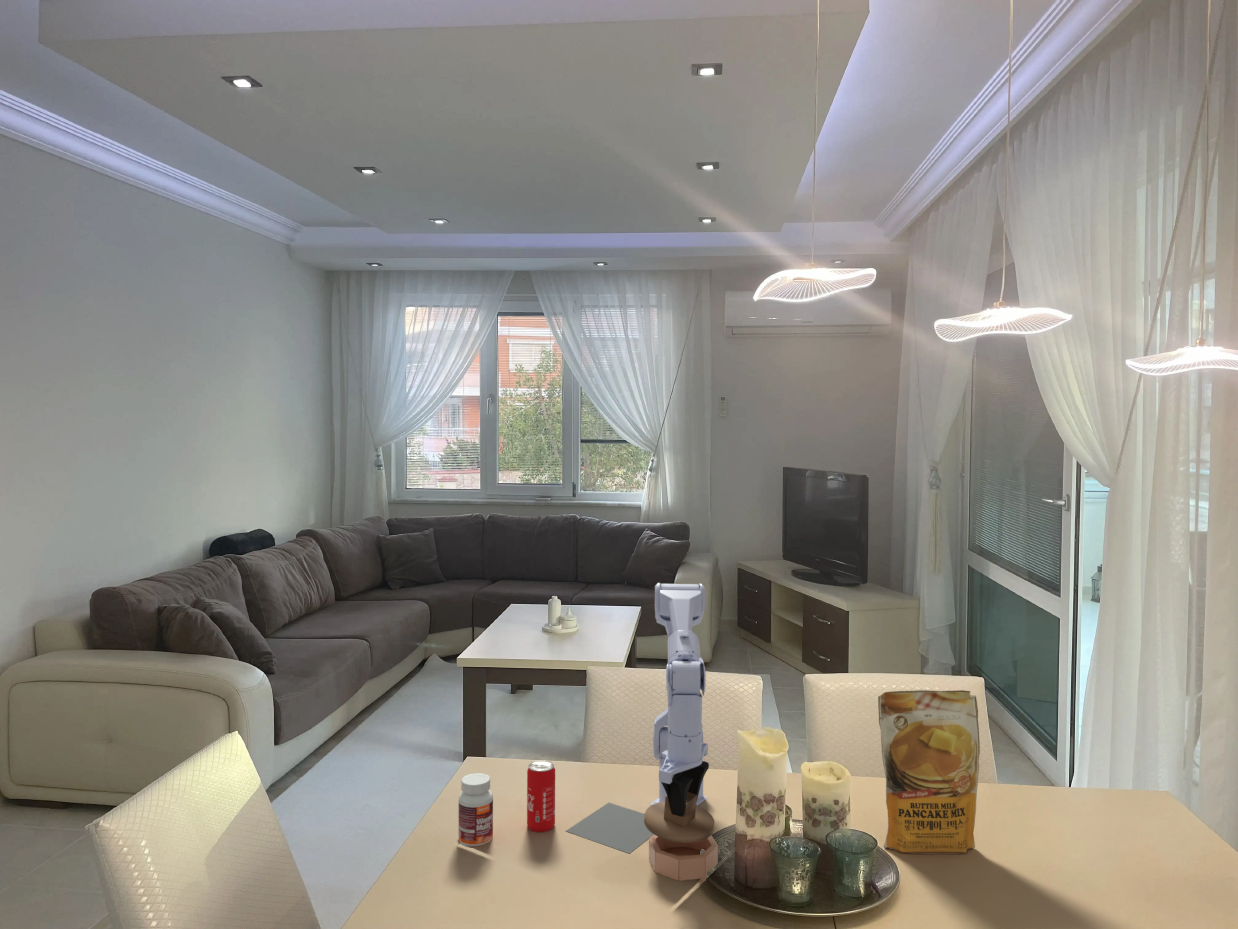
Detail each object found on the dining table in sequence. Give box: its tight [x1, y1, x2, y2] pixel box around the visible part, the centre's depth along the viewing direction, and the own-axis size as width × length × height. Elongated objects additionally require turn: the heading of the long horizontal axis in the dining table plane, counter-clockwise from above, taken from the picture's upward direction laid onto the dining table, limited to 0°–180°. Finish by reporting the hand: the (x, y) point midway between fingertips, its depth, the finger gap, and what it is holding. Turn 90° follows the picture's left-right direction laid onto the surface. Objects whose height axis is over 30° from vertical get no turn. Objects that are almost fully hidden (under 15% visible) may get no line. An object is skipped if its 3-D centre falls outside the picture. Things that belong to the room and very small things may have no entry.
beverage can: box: [526, 760, 556, 833], centre depth 153 cm, size 5×5×12 cm
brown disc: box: [644, 792, 715, 843], centre depth 141 cm, size 12×12×5 cm
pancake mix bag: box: [877, 689, 981, 855], centre depth 148 cm, size 7×19×28 cm, turn 91°
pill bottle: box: [458, 772, 494, 849], centre depth 149 cm, size 6×6×11 cm
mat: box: [565, 802, 654, 855], centre depth 154 cm, size 14×14×1 cm
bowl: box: [648, 834, 719, 883], centre depth 141 cm, size 11×11×4 cm
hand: (683, 809), depth 141 cm, fingers closed on brown disc, 4 cm apart
